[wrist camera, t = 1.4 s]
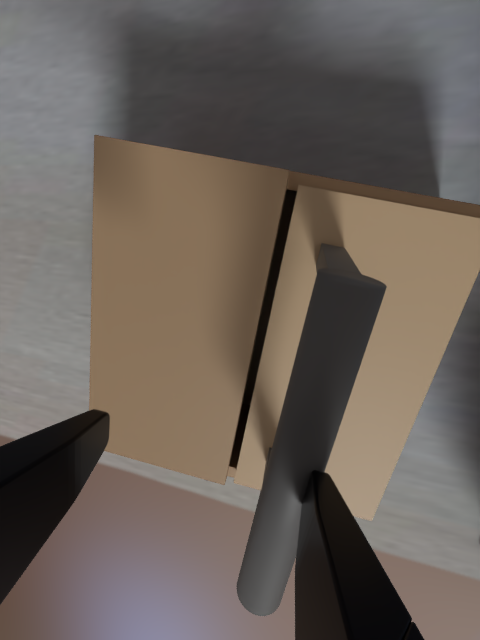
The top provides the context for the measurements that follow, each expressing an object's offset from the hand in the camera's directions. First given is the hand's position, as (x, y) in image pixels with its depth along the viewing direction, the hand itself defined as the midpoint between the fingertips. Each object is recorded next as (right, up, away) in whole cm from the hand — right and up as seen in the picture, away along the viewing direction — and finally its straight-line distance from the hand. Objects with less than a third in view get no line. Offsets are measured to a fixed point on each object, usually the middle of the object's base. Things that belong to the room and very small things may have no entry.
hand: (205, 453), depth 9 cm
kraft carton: (+3, +4, +12) cm, 13 cm away
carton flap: (+5, +1, +5) cm, 7 cm away
